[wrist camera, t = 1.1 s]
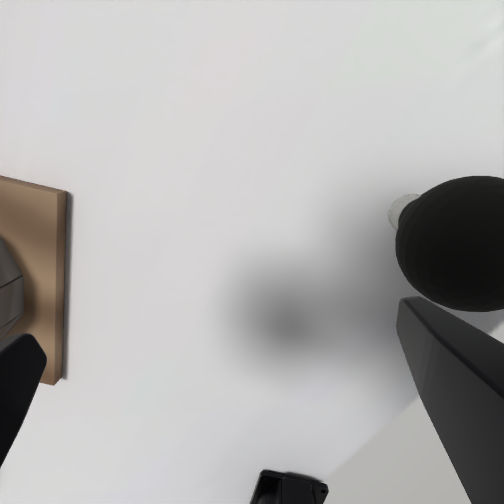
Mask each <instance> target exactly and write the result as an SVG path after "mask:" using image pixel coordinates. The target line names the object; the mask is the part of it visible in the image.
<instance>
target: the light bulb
mask: <svg viewBox="0 0 504 504" xmlns="http://www.w3.org/2000/svg"><path fill="white" fill-rule="evenodd" d="M389 220H390V223H391V225H392V226H393V227H394V229H395V230H397V234H396V257H397V260H398V264H399V266H400V268H401V270H402V272H403V274H404V276H405V277H406V279H407V280H408V282H409V283H410V284H411V285H412V286H413V287H414V288H415V289H416V290H418V291H419V292H420V293H421V294H422V295H424V296H425V297H426V298H428V299H430V300H431V301H433V302H436V303H438V304H440V305H443V306H445V307H448V308H451V309H455V310H460V311H469V312H489V311H495V310H501V309H504V179H502V178H498V177H491V176H469V177H462V178H458V179H453V180H450V181H447V182H444V183H442V184H440V185H438V186H436V187H434V188H432V189H430V190H428V191H427V192H425V193H424V194H422V195H421V196H420V195H417V194H408V195H404V196H402V197H401V198H399V199H398V200H396V201H395V202H394V204H393V205H392V207H391V209H390V212H389Z"/></svg>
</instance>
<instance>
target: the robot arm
mask: <svg viewBox="0 0 504 504" xmlns="http://www.w3.org/2000/svg"><path fill="white" fill-rule="evenodd" d="M396 327H397V334H398V337H399V340H400V343H401V345H402V348H403V351H404V354H405V356H406V359H407V362H408V365H409V368H410V370H411V373H412V376H413V379H414V382H415V384H416V387H417V390H418V392H419V395H420V398H421V400H422V402H423V404H424V406H425V409H426V410H427V413H428V415H429V417H430V419H431V421H432V423H433V425H434V427H435V429H436V431H437V433H438V435H439V438H440V440H441V442H442V444H443V446H444V448H445V449H446V452H447V454H448V456H449V458H450V460H451V462H452V464H453V466H454V468H455V470H456V472H457V474H458V477H459V479H460V481H461V483H462V485H463V487H464V489H465V491H466V493H467V495H468V497H469V499H470V501H471V503H472V504H504V344H503V343H501V342H500V341H498V340H496V339H495V338H493V337H491V336H489V335H488V334H486V333H484V332H482V331H481V330H479V329H477V328H475V327H473V326H472V325H470V324H468V323H466V322H465V321H463V320H461V319H459V318H458V317H456V316H454V315H452V314H450V313H449V312H447V311H445V310H443V309H442V308H440V307H438V306H436V305H435V304H433V303H431V302H429V301H428V300H426V299H424V298H422V297H406V298H402V299H401V300H400V302H399V308H398V316H397V325H396ZM46 365H47V355H46V353H45V352H44V350H43V349H42V347H41V346H40V344H39V343H38V341H37V340H36V338H35V337H34V335H32V334H31V333H18V334H13V335H10V336H8V337H6V338H5V339H3V340H1V341H0V468H1V466H2V464H3V462H4V460H5V458H6V456H7V454H8V452H9V450H10V448H11V446H12V444H13V442H14V440H15V438H16V436H17V434H18V432H19V430H20V428H21V426H22V424H23V421H24V419H25V417H26V414H27V412H28V409H29V407H30V404H31V402H32V400H33V397H34V395H35V392H36V390H37V387H38V385H39V382H40V380H41V377H42V375H43V372H44V370H45V367H46ZM328 492H329V491H328V486H327V485H326V484H324V483H320V482H315V481H310V480H305V479H301V478H296V477H291V476H286V475H281V474H277V473H272V472H267V471H263V472H261V473H260V475H259V478H258V481H257V484H256V487H255V490H254V493H253V495H252V498H251V501H250V504H323V503H324V501H325V499H326V496H327V494H328Z"/></svg>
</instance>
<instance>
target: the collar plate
mask: <svg viewBox="0 0 504 504" xmlns="http://www.w3.org/2000/svg"><path fill="white" fill-rule="evenodd" d="M66 194H67V191H63V190H59V189H54V188H50V187H46V186H42V185H37V184H33V183H29V182H25V181H21V180H16V179H12V178H8V177H4V176H0V341H1V340H3V339H5V338H6V337H8V336H10V335H13V334H18V333H31V334H32V335H34V337H35V338H36V340H37V341H38V343H39V344H40V346H41V347H42V349H43V350H44V352H45V353H46V355H47V365H46V367H45V370H44V372H43V375H42V377H41V380H40V383H45V384H49V385H55V384H56V383H57V382H58V381H59V379H60V378H61V377H62V348H63V309H64V271H65V232H66Z"/></svg>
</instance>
